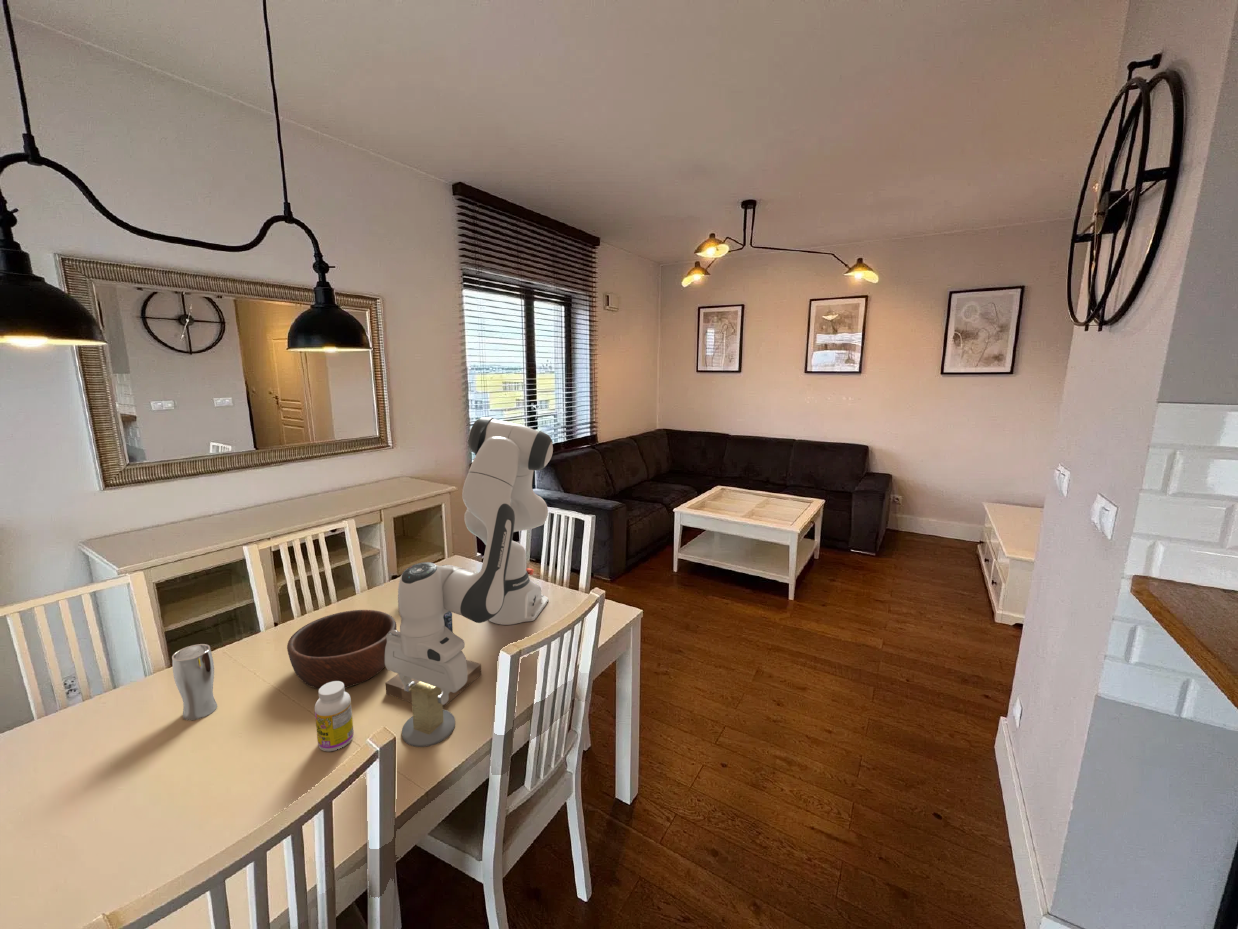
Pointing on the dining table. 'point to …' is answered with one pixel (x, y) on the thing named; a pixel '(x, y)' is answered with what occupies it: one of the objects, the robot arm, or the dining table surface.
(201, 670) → the beer glass
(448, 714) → the coaster
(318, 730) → the supplement bottle
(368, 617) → the wooden bowl
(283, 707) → the dining table surface
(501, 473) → the robot arm
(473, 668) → the pocket
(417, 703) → the part
